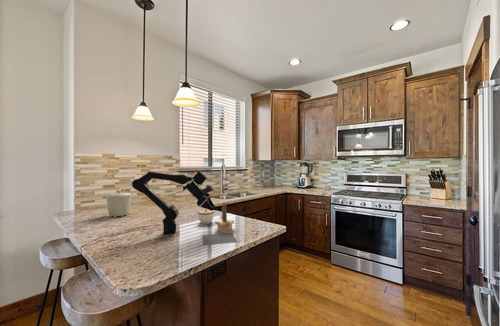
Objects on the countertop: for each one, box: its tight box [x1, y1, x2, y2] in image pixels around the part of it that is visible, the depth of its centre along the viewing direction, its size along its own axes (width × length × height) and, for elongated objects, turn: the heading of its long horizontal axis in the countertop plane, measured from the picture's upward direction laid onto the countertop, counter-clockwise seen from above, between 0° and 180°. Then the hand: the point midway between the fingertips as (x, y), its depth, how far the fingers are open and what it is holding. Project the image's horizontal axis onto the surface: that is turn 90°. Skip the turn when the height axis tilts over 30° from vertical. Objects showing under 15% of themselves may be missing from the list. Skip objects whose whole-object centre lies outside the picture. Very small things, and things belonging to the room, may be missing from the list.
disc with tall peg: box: [214, 202, 235, 226], centre depth 132 cm, size 12×12×12 cm
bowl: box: [216, 224, 233, 233], centre depth 132 cm, size 8×8×4 cm
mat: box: [201, 232, 238, 246], centre depth 117 cm, size 17×16×1 cm
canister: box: [104, 189, 133, 217], centre depth 174 cm, size 18×18×21 cm
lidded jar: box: [197, 208, 215, 225], centre depth 150 cm, size 11×11×9 cm
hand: (213, 208), depth 132 cm, fingers open, 9 cm apart
